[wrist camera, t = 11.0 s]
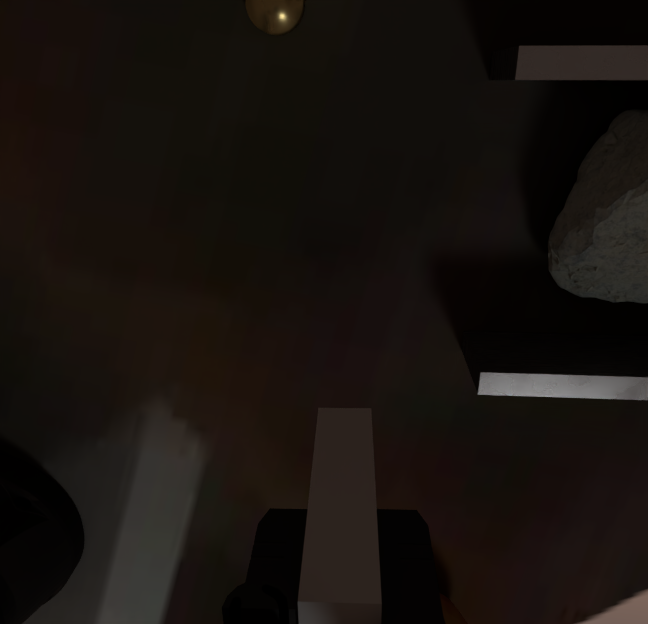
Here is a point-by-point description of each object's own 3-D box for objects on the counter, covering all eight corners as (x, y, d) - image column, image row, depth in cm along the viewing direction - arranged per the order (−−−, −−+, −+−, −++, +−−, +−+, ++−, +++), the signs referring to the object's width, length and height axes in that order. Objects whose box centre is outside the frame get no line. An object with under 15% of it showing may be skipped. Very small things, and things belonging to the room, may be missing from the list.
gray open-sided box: (461, 350, 40) (484, 412, 32) (492, 52, 32) (530, 43, 25) (714, 357, 39) (797, 423, 31) (803, 51, 32) (937, 42, 24)
